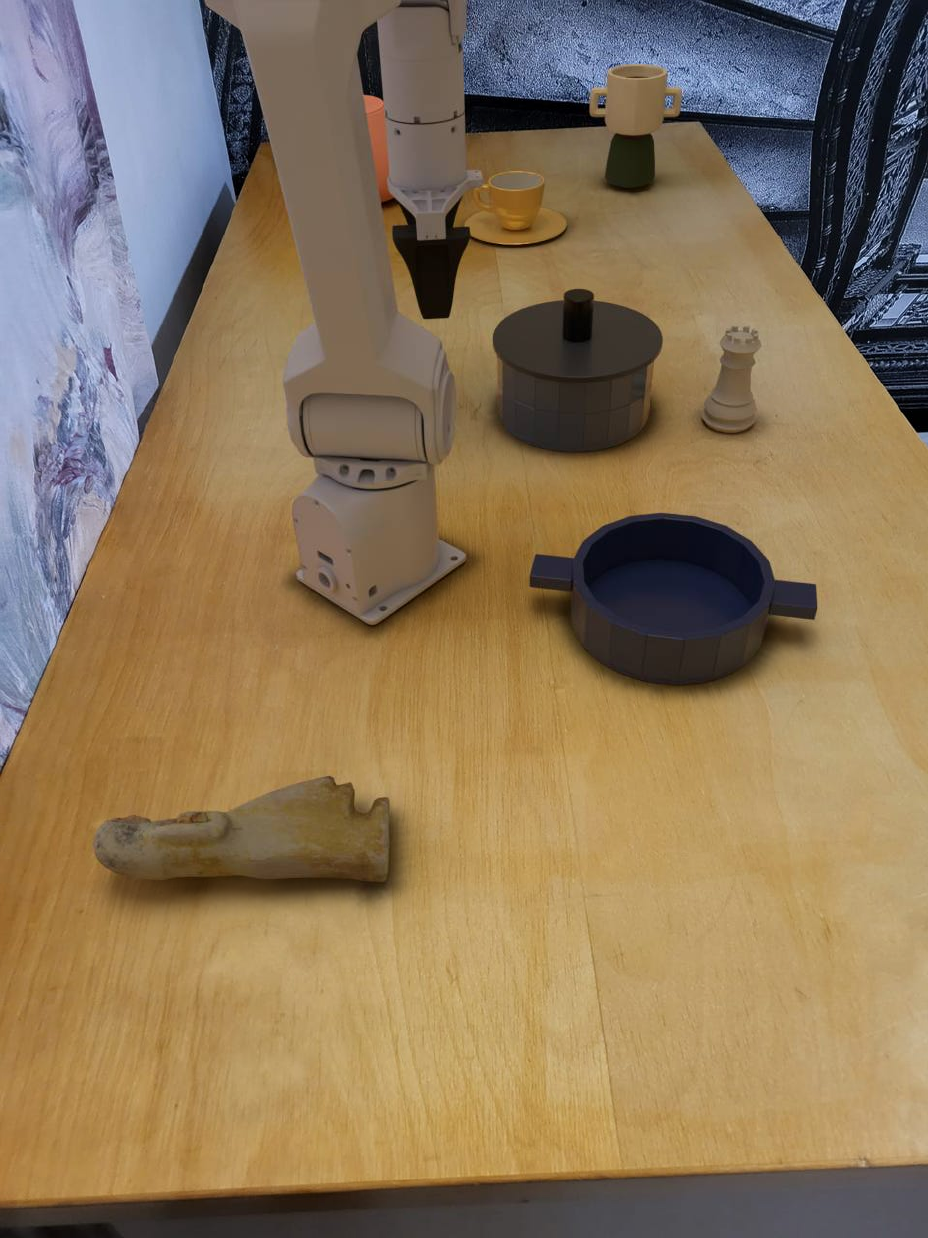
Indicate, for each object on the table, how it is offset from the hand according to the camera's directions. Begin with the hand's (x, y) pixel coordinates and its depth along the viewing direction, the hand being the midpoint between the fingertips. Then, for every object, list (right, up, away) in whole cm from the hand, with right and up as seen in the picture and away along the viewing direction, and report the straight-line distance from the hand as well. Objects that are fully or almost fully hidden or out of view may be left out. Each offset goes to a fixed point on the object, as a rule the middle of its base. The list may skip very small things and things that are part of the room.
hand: (434, 295), depth 81 cm
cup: (+8, +20, +38) cm, 43 cm away
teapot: (-12, +29, +49) cm, 58 cm away
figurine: (-9, -39, -27) cm, 48 cm away
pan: (+16, -26, -14) cm, 33 cm away
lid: (+12, -3, +2) cm, 12 cm away
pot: (+12, -8, +6) cm, 15 cm away
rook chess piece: (+25, -9, +4) cm, 27 cm away
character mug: (+23, +29, +47) cm, 60 cm away
